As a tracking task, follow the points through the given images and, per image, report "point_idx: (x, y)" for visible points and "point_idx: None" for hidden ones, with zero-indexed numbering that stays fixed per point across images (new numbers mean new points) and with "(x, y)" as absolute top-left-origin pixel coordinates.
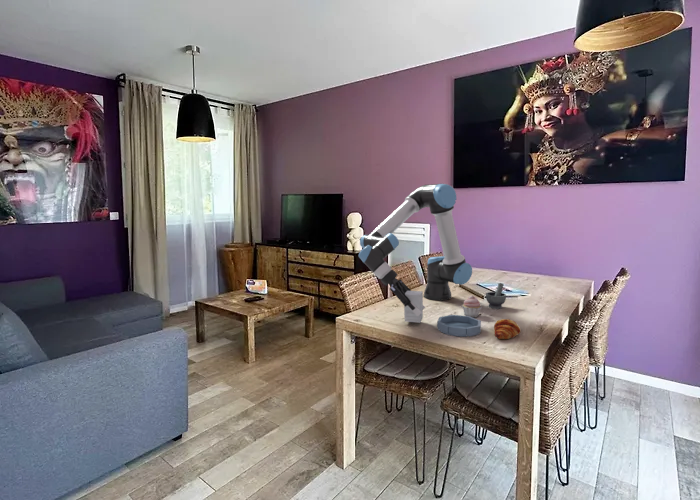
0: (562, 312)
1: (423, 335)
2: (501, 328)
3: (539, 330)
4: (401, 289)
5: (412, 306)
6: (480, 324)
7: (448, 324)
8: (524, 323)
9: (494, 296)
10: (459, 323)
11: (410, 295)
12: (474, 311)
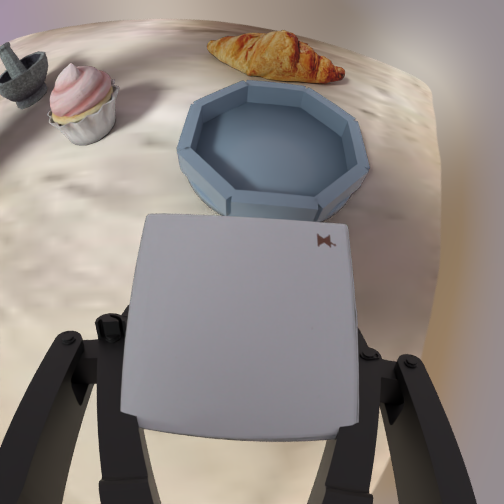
0: (99, 24)
1: (402, 282)
2: (316, 56)
3: (222, 32)
4: (366, 494)
5: (359, 333)
6: (289, 84)
7: (250, 181)
8: (172, 44)
9: (36, 63)
10: (224, 145)
11: (356, 349)
12: (115, 99)
